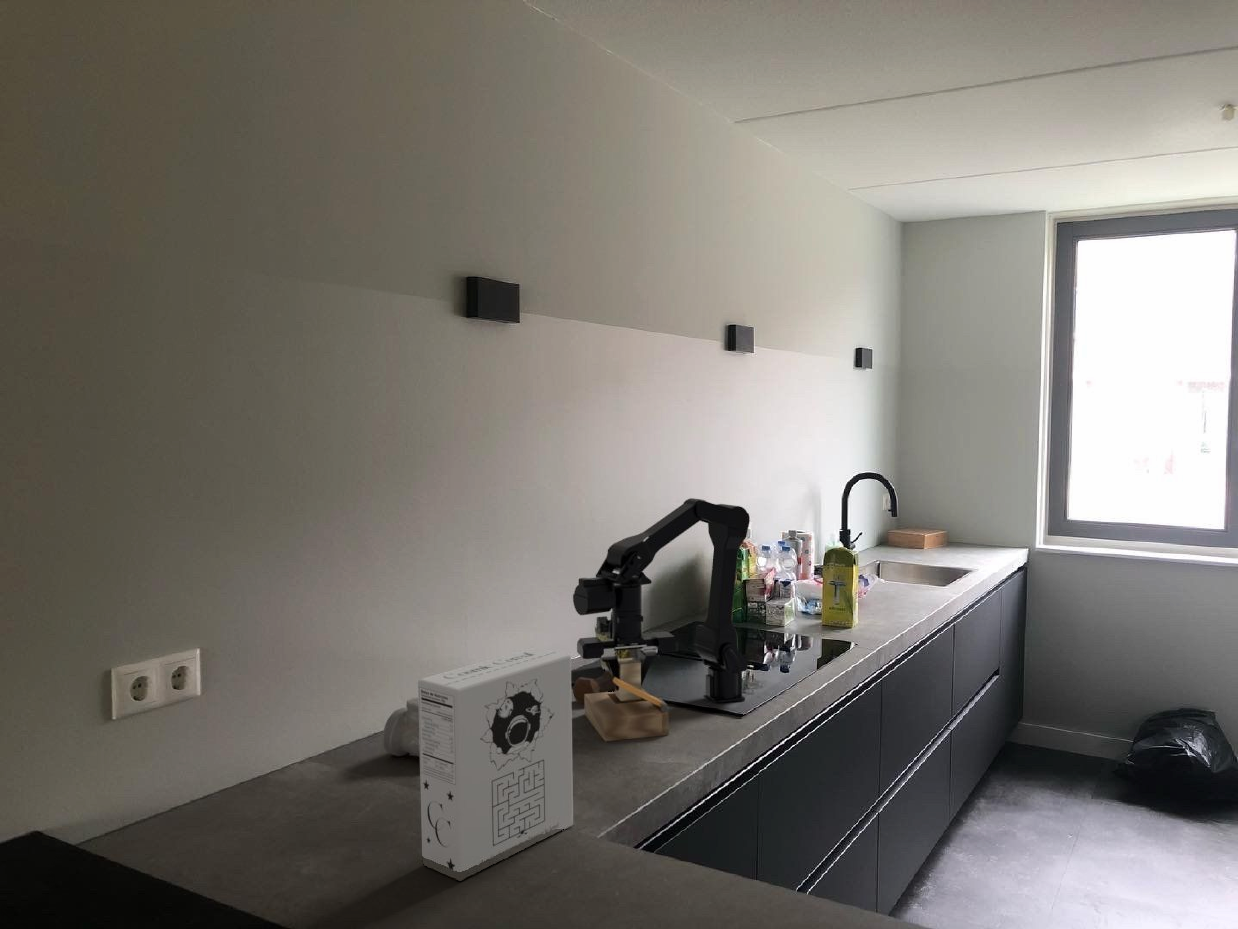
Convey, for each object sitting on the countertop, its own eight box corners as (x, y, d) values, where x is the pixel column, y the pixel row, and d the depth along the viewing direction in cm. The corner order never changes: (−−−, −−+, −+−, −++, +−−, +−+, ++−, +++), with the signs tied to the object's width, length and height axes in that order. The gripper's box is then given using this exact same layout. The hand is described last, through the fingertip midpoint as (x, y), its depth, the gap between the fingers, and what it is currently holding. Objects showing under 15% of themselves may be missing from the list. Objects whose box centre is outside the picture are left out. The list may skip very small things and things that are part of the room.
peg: (635, 693, 191) (634, 657, 191) (641, 699, 187) (640, 662, 187) (615, 695, 190) (614, 659, 190) (620, 701, 186) (620, 664, 186)
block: (643, 708, 195) (643, 682, 194) (668, 734, 179) (668, 705, 179) (584, 714, 191) (584, 687, 191) (605, 741, 176) (604, 711, 176)
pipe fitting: (376, 757, 168) (384, 698, 167) (407, 747, 175) (414, 690, 174) (431, 777, 162) (439, 717, 162) (461, 765, 169) (469, 707, 169)
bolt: (626, 695, 211) (585, 711, 198) (609, 680, 213) (568, 695, 200) (638, 673, 209) (598, 688, 196) (621, 658, 211) (580, 672, 198)
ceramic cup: (588, 665, 227) (587, 623, 226) (627, 660, 231) (626, 618, 231) (611, 679, 215) (611, 634, 215) (652, 674, 219) (651, 629, 219)
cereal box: (536, 812, 146) (533, 646, 144) (574, 825, 141) (571, 654, 139) (421, 866, 129) (416, 679, 128) (459, 883, 124) (455, 689, 123)
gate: (659, 705, 184) (662, 699, 184) (664, 710, 181) (667, 704, 181) (612, 681, 181) (615, 676, 181) (616, 686, 178) (619, 680, 178)
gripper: (660, 597, 198) (661, 674, 199) (570, 603, 193) (571, 682, 194) (678, 608, 187) (679, 689, 188) (583, 615, 182) (584, 698, 183)
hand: (627, 689), depth 189 cm, fingers closed on peg, 4 cm apart
